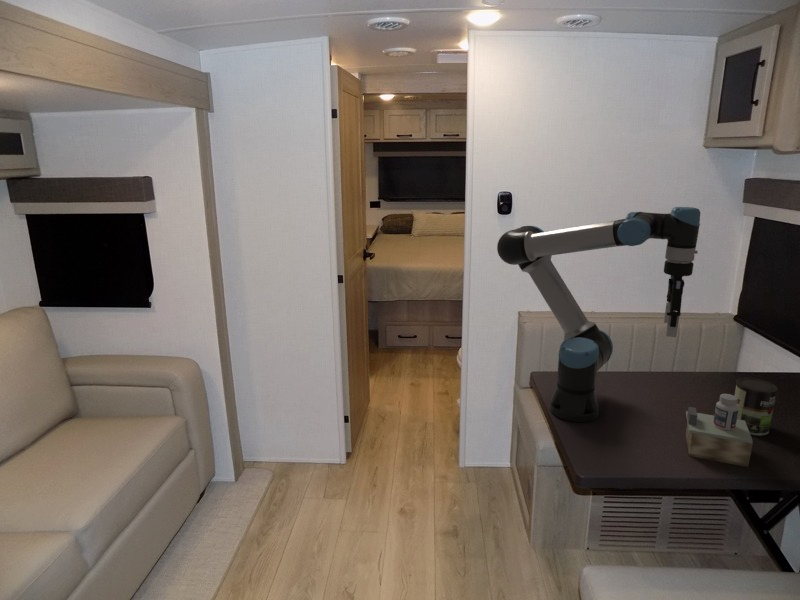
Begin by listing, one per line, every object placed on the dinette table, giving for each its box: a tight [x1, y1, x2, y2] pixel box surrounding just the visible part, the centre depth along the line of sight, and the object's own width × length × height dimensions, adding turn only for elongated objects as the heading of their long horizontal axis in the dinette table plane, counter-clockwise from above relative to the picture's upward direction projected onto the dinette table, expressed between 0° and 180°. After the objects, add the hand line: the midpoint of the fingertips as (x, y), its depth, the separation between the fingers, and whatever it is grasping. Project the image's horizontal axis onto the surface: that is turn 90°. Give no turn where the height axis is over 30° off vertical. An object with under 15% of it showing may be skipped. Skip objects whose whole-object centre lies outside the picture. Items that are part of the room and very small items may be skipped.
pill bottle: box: [713, 393, 739, 430], centre depth 143 cm, size 5×5×9 cm
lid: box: [685, 406, 753, 444], centre depth 144 cm, size 15×12×4 cm
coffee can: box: [733, 377, 779, 437], centre depth 157 cm, size 10×10×14 cm
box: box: [685, 423, 754, 468], centre depth 145 cm, size 14×11×7 cm
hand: (669, 329), depth 159 cm, fingers open, 13 cm apart
